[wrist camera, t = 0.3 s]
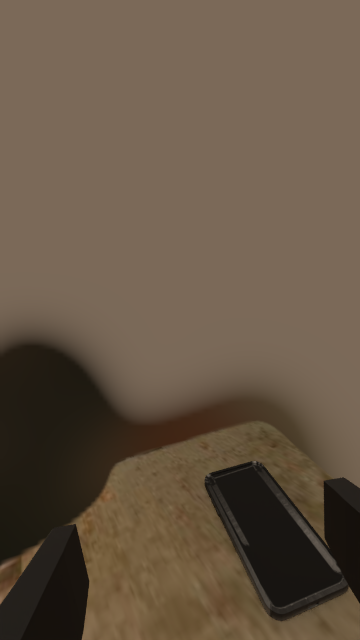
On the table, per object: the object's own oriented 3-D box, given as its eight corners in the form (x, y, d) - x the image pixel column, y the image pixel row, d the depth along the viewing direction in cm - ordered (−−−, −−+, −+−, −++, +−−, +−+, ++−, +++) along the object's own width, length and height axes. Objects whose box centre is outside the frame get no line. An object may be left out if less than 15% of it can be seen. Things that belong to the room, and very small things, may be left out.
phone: (258, 459, 39) (356, 581, 25) (258, 466, 39) (354, 591, 25) (201, 475, 36) (271, 619, 23) (201, 483, 37) (271, 629, 23)
